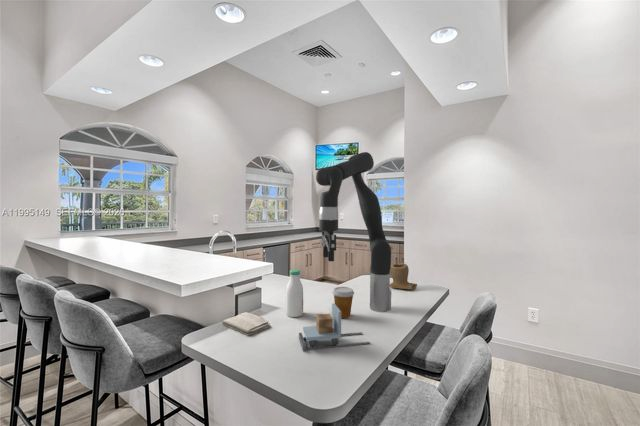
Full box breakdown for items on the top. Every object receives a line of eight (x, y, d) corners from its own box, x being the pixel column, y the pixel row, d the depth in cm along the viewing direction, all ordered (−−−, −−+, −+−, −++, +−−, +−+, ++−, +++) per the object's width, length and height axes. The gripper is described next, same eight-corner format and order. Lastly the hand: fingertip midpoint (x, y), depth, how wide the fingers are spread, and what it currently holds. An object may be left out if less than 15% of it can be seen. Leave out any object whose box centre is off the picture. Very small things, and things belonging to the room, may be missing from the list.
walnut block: (329, 327, 111) (329, 313, 111) (332, 332, 106) (332, 318, 106) (316, 327, 110) (316, 314, 110) (318, 333, 105) (318, 319, 105)
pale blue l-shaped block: (334, 333, 113) (334, 303, 113) (340, 344, 105) (341, 311, 104) (303, 336, 111) (303, 305, 110) (307, 347, 102) (307, 314, 102)
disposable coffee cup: (356, 314, 136) (356, 288, 135) (349, 321, 127) (349, 293, 127) (337, 310, 140) (337, 285, 139) (329, 317, 131) (329, 290, 131)
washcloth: (249, 337, 112) (249, 329, 112) (220, 325, 123) (220, 318, 123) (272, 327, 122) (272, 320, 122) (243, 317, 132) (243, 310, 132)
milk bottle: (300, 318, 130) (300, 272, 130) (283, 316, 132) (283, 271, 131) (304, 312, 138) (305, 269, 137) (288, 310, 139) (289, 268, 139)
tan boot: (386, 289, 176) (387, 264, 175) (392, 284, 186) (392, 260, 186) (413, 293, 169) (413, 267, 168) (417, 288, 179) (417, 263, 179)
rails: (361, 332, 116) (361, 327, 116) (370, 344, 106) (371, 339, 106) (298, 338, 111) (298, 332, 111) (302, 351, 101) (302, 345, 101)
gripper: (315, 217, 124) (315, 256, 125) (323, 219, 110) (323, 263, 111) (333, 217, 126) (332, 255, 126) (343, 219, 112) (342, 262, 112)
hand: (328, 259), depth 119 cm, fingers open, 8 cm apart
